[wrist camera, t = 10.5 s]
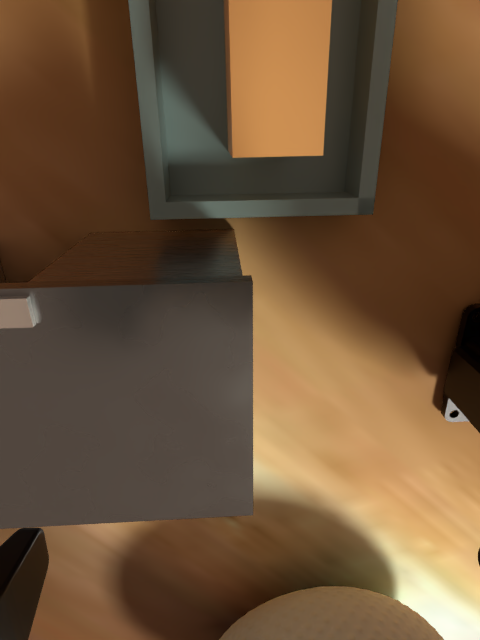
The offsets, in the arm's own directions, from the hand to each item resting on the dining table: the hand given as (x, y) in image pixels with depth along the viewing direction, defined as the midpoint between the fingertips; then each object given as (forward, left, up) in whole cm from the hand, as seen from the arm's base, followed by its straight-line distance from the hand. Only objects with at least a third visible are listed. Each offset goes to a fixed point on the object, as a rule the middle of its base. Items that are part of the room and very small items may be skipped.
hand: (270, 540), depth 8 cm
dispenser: (+8, 0, -12) cm, 14 cm away
